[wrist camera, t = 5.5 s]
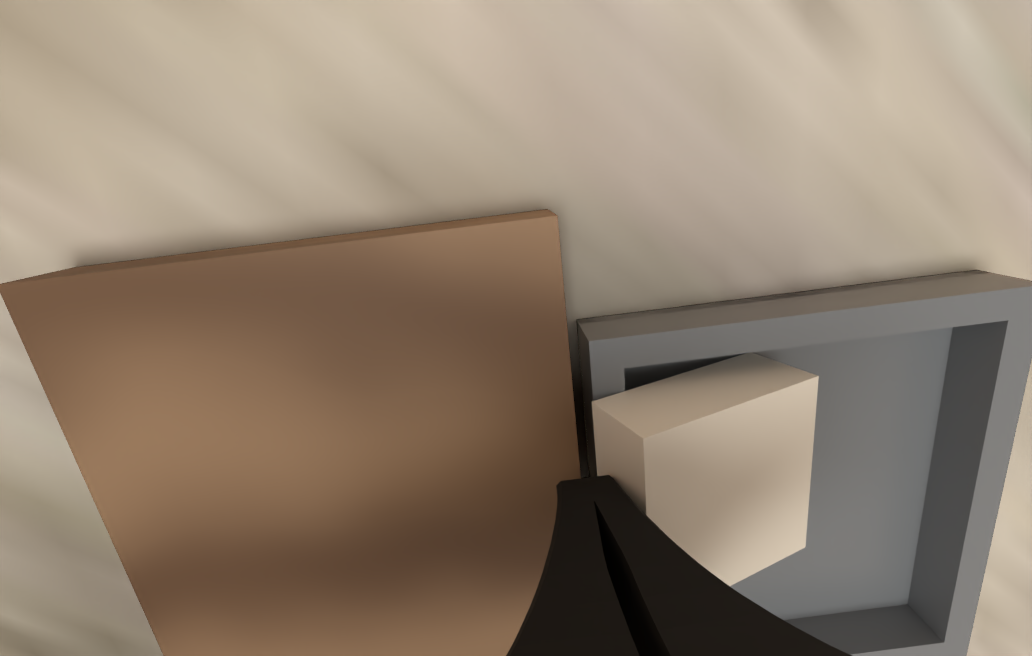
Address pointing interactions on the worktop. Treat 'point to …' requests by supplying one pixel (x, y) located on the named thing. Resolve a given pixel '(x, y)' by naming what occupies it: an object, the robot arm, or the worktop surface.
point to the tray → (866, 440)
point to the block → (717, 459)
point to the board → (321, 432)
